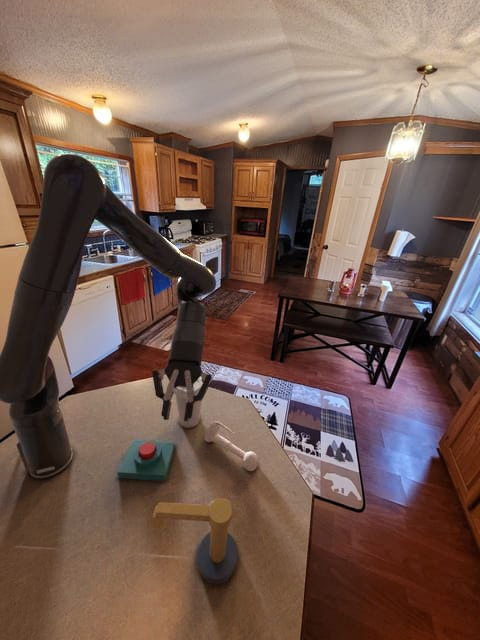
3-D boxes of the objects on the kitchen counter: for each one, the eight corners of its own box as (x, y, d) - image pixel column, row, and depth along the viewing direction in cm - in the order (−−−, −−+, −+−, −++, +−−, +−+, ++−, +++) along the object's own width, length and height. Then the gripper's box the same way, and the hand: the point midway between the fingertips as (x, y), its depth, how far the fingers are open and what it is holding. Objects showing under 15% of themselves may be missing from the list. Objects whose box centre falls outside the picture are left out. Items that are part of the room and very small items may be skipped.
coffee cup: (169, 418, 84) (167, 381, 79) (193, 405, 91) (193, 370, 85) (184, 436, 78) (183, 398, 72) (209, 421, 84) (210, 385, 78)
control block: (118, 478, 65) (116, 467, 63) (134, 445, 74) (132, 435, 73) (165, 481, 65) (164, 470, 63) (175, 447, 74) (174, 437, 73)
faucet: (245, 482, 71) (258, 465, 66) (201, 437, 77) (210, 419, 72) (252, 471, 74) (266, 454, 69) (209, 429, 80) (218, 410, 75)
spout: (231, 514, 49) (232, 498, 47) (230, 540, 45) (231, 524, 43) (158, 509, 49) (157, 493, 47) (151, 535, 45) (149, 518, 43)
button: (137, 458, 66) (136, 454, 66) (143, 445, 70) (142, 441, 69) (152, 459, 66) (152, 455, 66) (157, 446, 70) (157, 442, 69)
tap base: (194, 583, 48) (194, 544, 43) (200, 533, 55) (201, 495, 50) (236, 586, 48) (241, 547, 43) (237, 536, 55) (241, 498, 50)
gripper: (153, 336, 57) (137, 418, 51) (216, 341, 57) (207, 423, 51) (161, 345, 64) (148, 418, 58) (217, 349, 64) (210, 422, 58)
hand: (176, 420), depth 54 cm, fingers open, 3 cm apart
